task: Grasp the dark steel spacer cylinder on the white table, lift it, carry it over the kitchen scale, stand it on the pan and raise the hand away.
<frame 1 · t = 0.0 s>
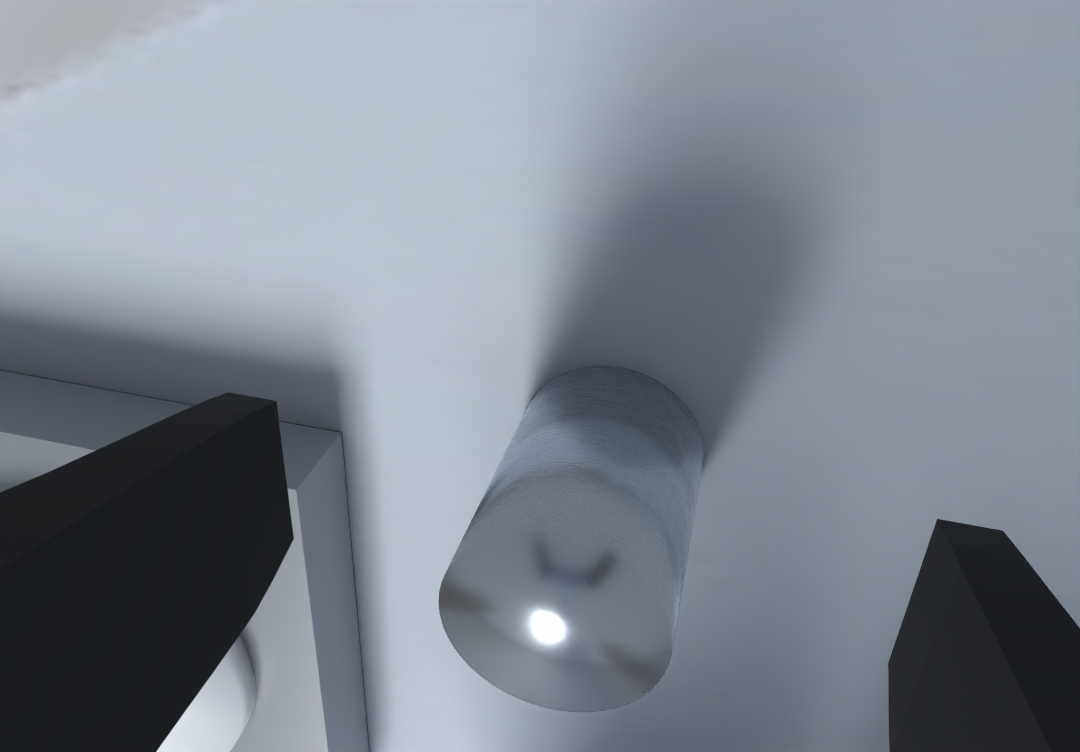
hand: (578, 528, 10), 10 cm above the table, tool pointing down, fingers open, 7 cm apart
steel spacer: (610, 446, 22), on the table
kitchen scale: (150, 579, 28), on the table
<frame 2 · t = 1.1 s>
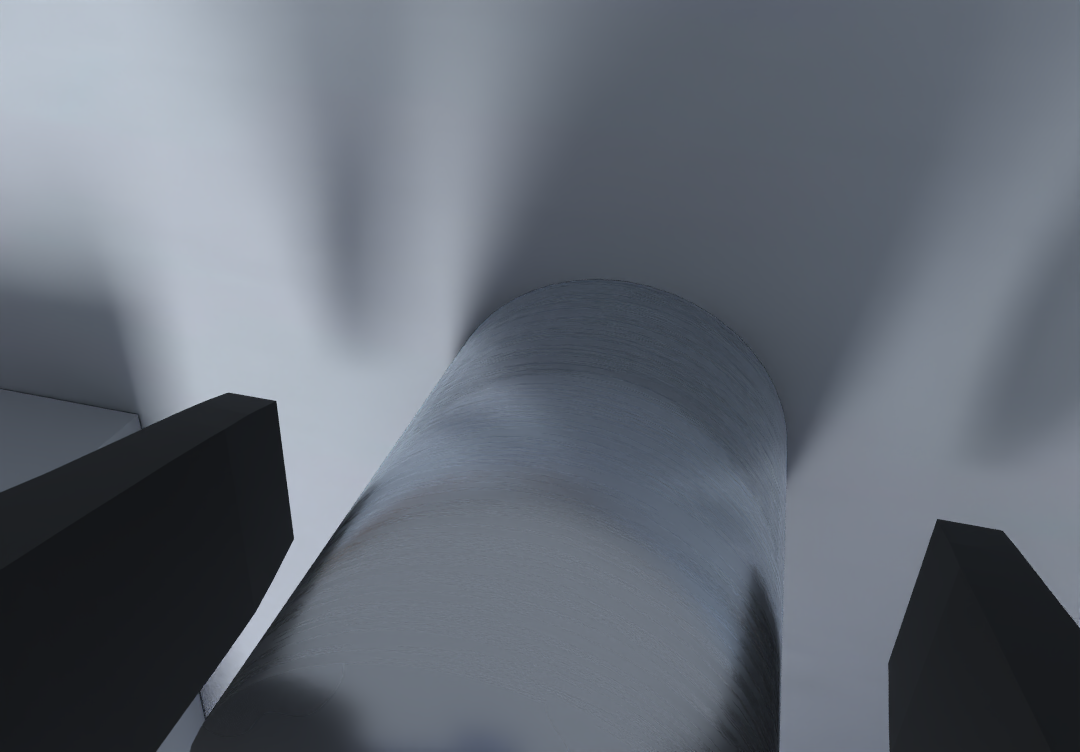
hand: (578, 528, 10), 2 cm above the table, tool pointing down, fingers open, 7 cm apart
steel spacer: (609, 438, 12), on the table
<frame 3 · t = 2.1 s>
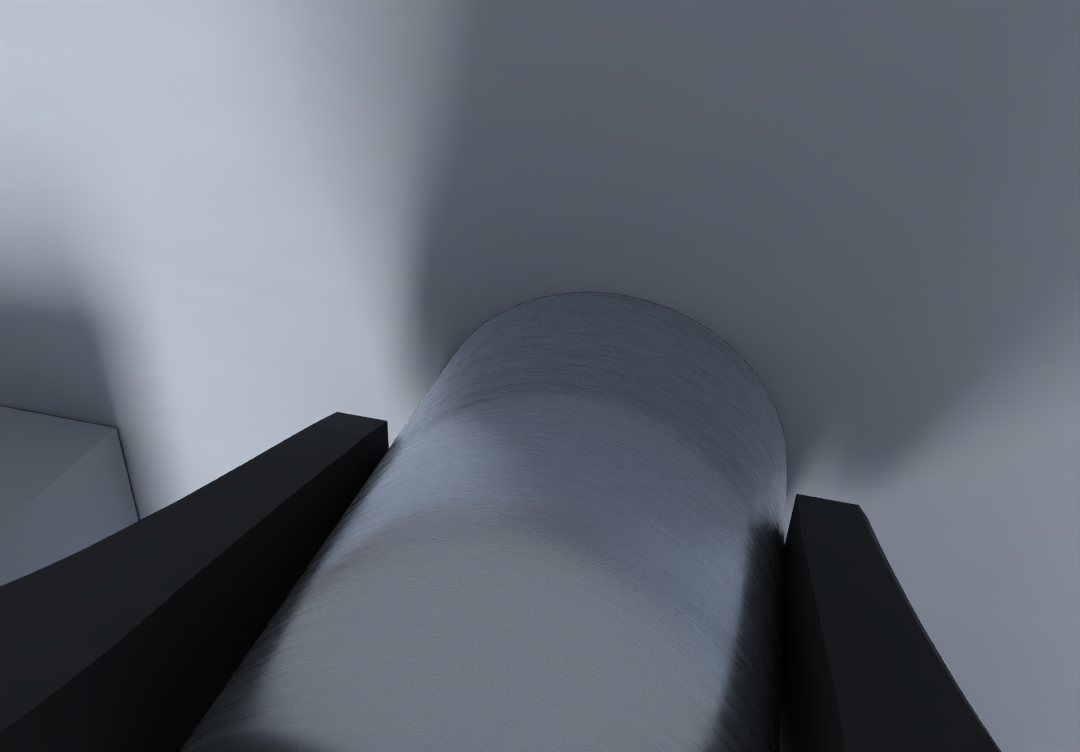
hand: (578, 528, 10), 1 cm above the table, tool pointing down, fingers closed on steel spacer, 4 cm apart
steel spacer: (601, 455, 11), on the table, touching gripper
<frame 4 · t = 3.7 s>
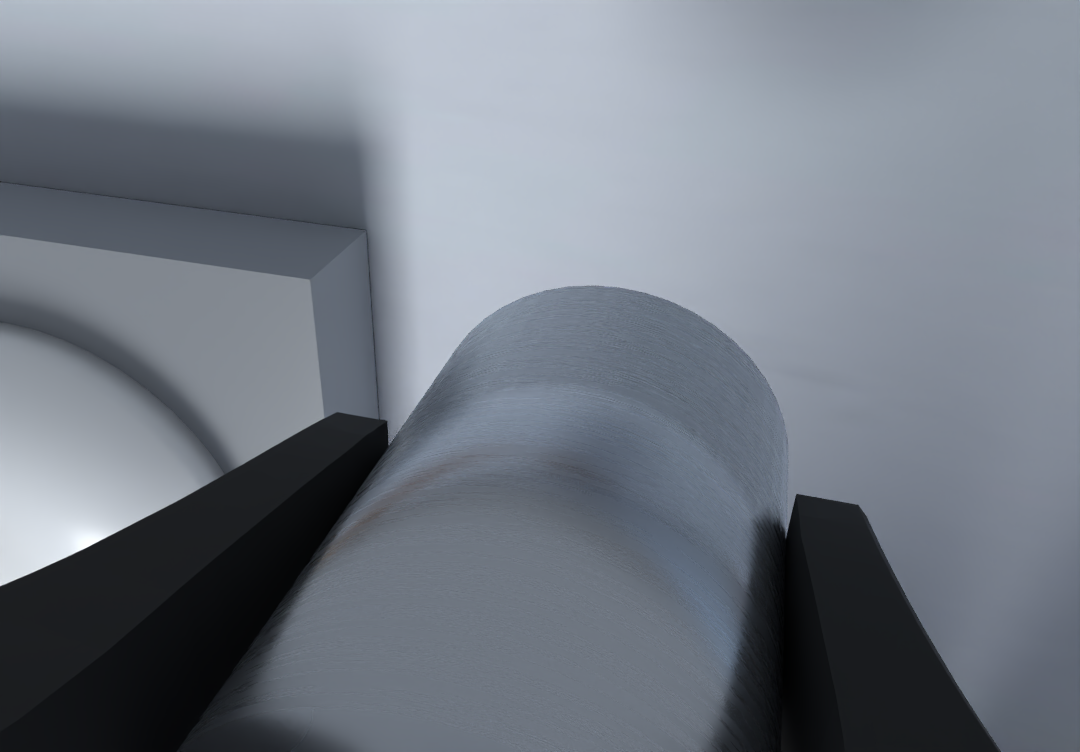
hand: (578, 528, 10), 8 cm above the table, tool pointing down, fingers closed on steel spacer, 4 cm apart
steel spacer: (604, 449, 11), point 7 cm above the table, touching gripper
kitchen scale: (129, 453, 23), on the table
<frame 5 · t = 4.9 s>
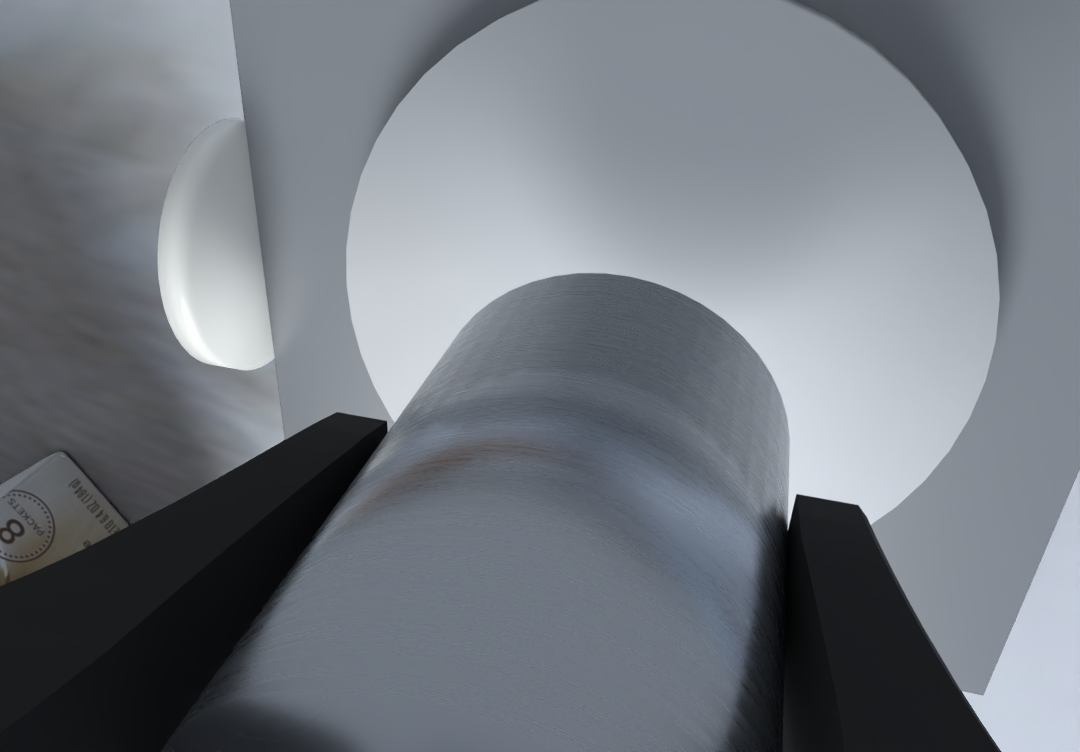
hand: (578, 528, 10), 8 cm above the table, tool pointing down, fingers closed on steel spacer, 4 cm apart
coffee box: (111, 592, 27), on the table
steel spacer: (604, 438, 11), point 7 cm above the table, touching gripper
kitchen scale: (670, 250, 17), on the table
when the fingers open (6 cm above the table, at t = 5.6 s): steel spacer drops 1 cm, resting on kitchen scale.
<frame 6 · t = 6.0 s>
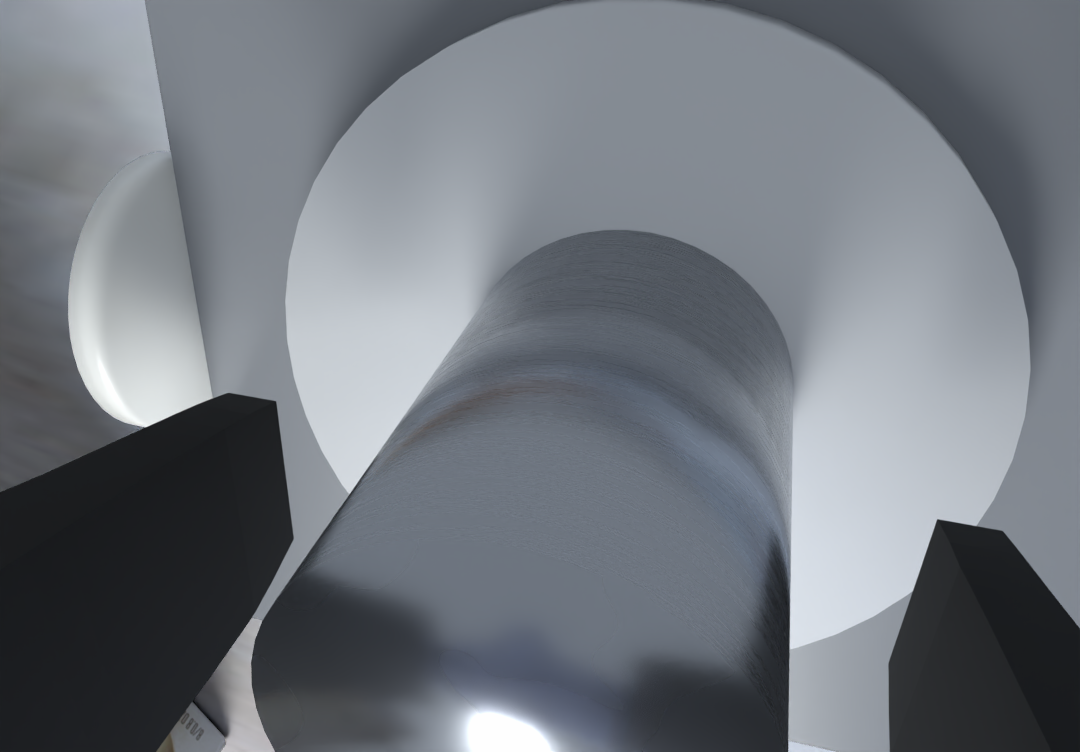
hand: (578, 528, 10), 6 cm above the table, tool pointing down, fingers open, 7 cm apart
coffee box: (63, 643, 25), on the table
steel spacer: (625, 383, 12), point 3 cm above the table, touching kitchen scale
kitchen scale: (655, 295, 15), on the table
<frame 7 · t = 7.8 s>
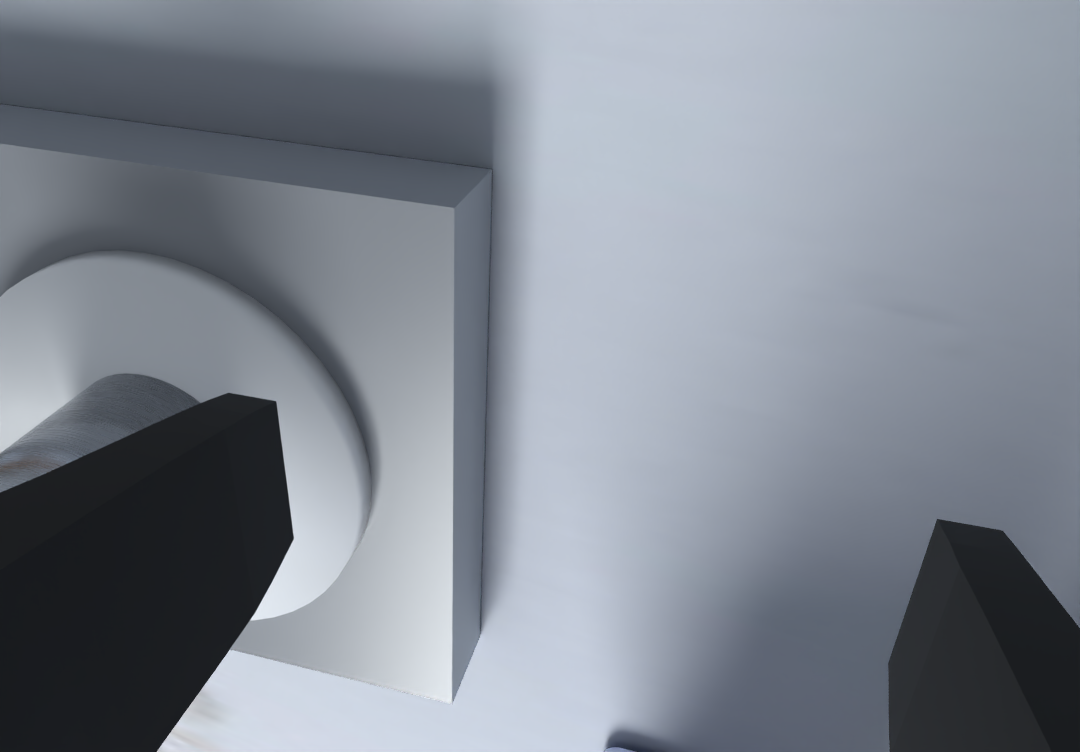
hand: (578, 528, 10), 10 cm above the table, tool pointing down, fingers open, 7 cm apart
steel spacer: (159, 455, 21), point 3 cm above the table, touching kitchen scale
kitchen scale: (233, 391, 24), on the table
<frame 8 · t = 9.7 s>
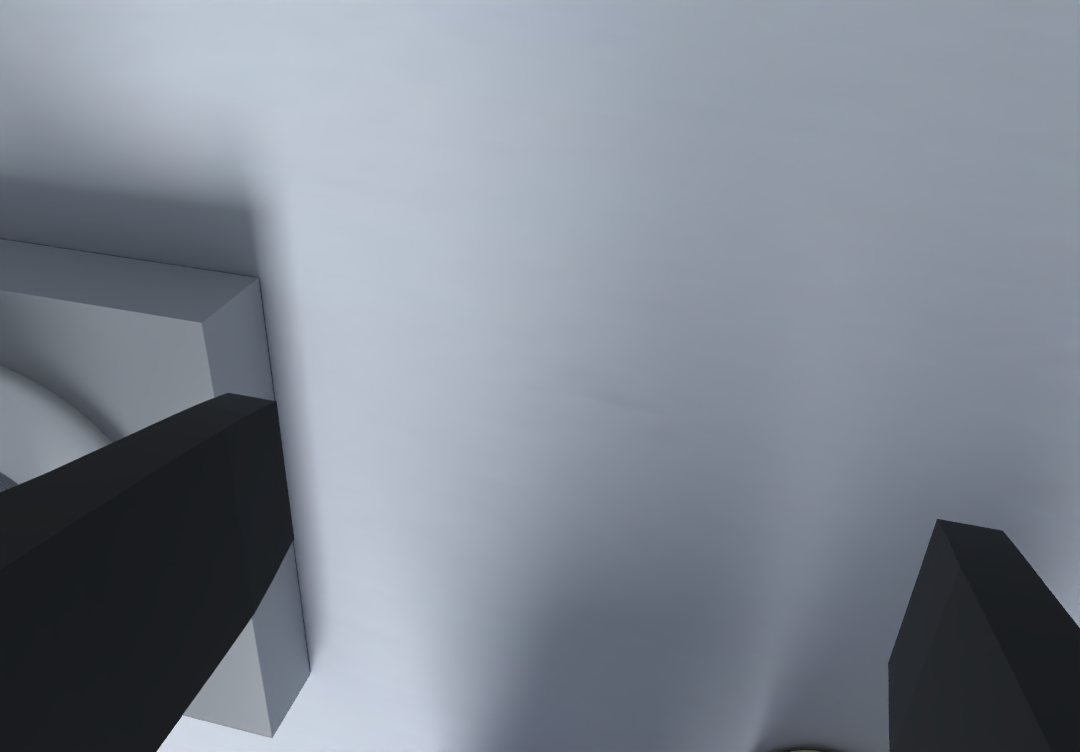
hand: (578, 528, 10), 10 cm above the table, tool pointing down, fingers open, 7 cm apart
kitchen scale: (72, 460, 27), on the table
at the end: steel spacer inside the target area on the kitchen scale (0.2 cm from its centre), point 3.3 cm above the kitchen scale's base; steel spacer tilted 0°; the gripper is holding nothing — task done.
